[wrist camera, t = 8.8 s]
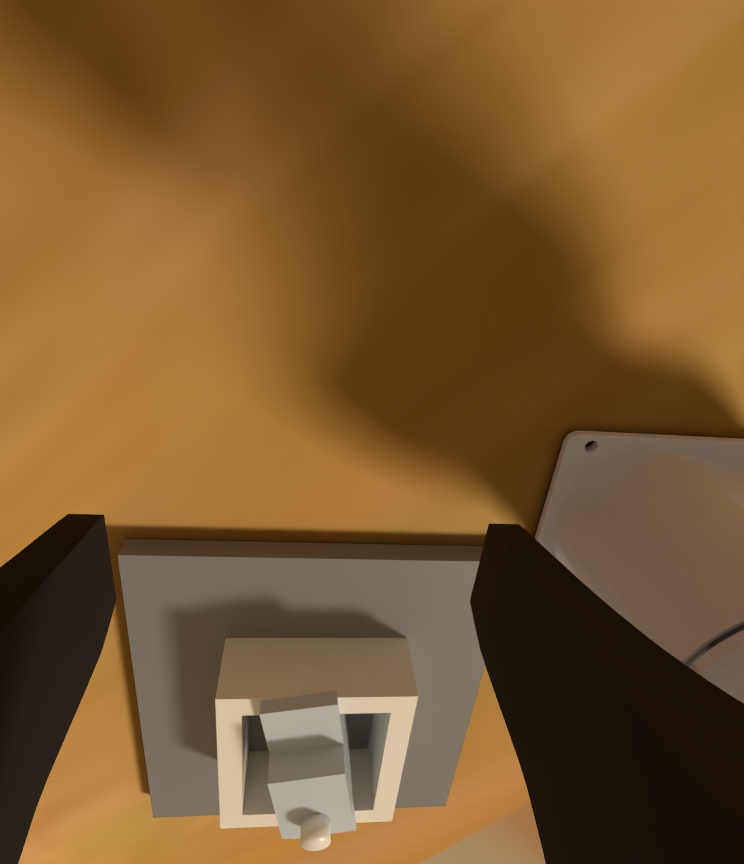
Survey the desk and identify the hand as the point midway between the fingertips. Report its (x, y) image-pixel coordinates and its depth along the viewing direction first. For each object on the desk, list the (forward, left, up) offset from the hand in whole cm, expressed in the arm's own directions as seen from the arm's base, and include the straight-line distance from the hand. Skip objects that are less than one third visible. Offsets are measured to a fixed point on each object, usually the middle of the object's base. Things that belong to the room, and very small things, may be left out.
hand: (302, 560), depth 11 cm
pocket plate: (-1, +17, -10) cm, 20 cm away
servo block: (-1, +17, -9) cm, 19 cm away
